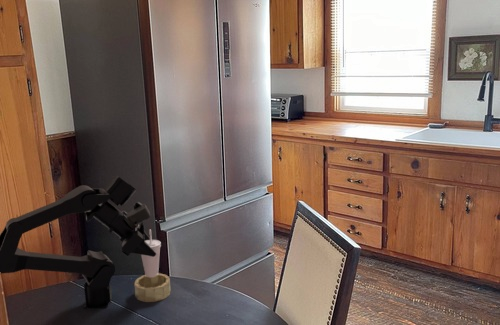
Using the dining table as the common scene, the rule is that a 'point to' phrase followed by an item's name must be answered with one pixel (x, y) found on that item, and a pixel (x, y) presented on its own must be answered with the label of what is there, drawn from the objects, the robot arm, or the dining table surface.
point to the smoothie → (152, 258)
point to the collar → (152, 288)
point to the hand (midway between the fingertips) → (154, 250)
